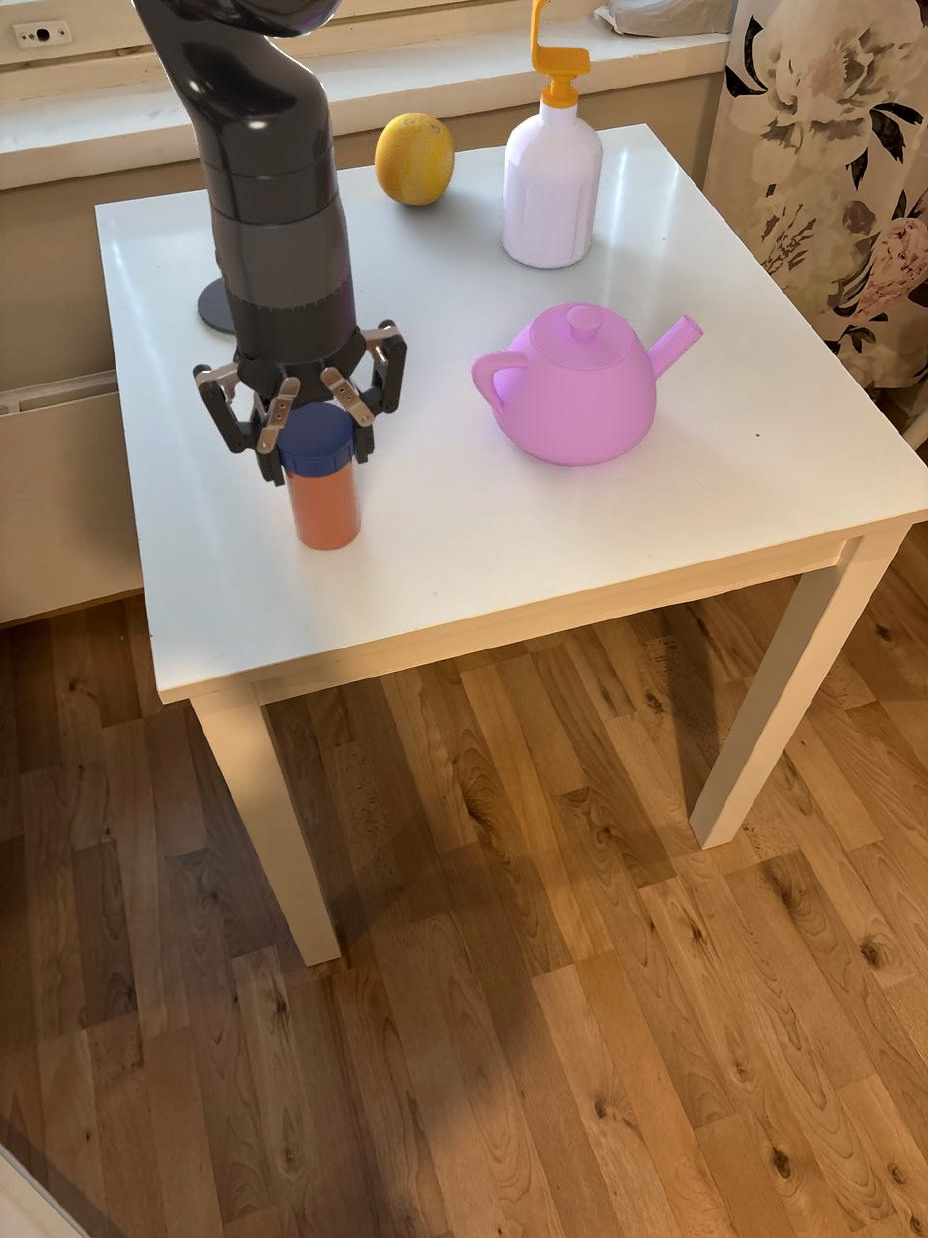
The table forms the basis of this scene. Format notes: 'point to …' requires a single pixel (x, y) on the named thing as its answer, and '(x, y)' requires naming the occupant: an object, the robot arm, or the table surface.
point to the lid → (316, 440)
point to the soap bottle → (552, 167)
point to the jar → (325, 508)
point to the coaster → (215, 307)
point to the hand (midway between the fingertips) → (319, 466)
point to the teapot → (578, 383)
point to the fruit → (414, 159)
